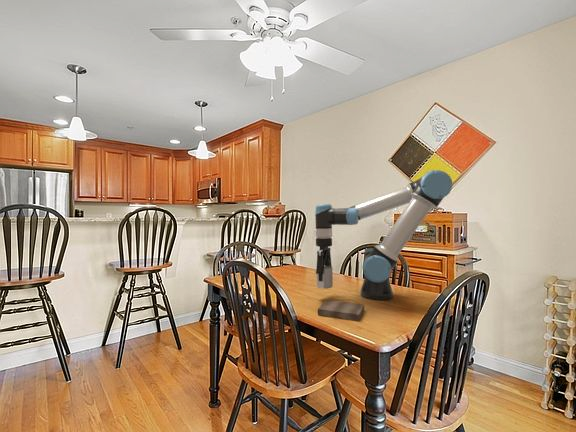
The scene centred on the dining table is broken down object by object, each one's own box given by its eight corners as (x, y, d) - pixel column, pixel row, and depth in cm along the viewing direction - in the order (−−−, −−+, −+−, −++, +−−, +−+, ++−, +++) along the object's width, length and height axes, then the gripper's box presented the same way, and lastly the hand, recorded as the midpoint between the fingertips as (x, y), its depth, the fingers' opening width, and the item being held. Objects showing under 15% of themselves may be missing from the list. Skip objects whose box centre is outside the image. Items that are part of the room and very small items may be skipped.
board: (364, 310, 125) (364, 304, 125) (358, 321, 113) (358, 314, 113) (326, 305, 131) (326, 299, 131) (317, 315, 119) (317, 308, 119)
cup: (317, 288, 136) (316, 268, 136) (316, 283, 146) (316, 265, 146) (333, 288, 135) (332, 268, 135) (331, 283, 145) (331, 264, 145)
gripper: (322, 235, 152) (323, 279, 152) (308, 239, 131) (309, 290, 132) (337, 235, 149) (338, 280, 149) (324, 239, 128) (325, 292, 129)
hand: (324, 285), depth 140 cm, fingers closed on cup, 10 cm apart
